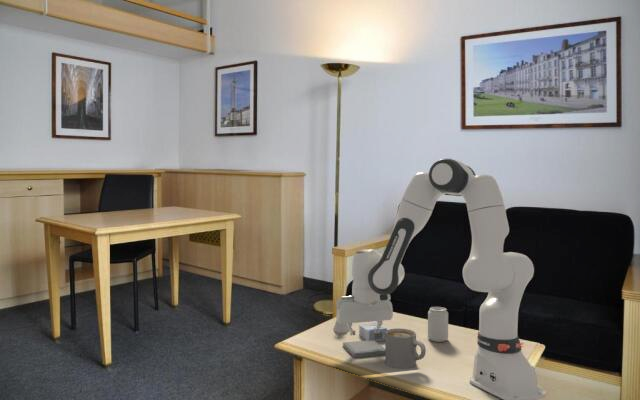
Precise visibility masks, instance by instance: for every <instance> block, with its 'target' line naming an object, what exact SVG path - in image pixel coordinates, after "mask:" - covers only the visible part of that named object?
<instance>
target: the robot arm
mask: <svg viewBox="0 0 640 400" xmlns="http://www.w3.org/2000/svg"><path fill="white" fill-rule="evenodd" d="M405 188H406V189H405V190H404V192H403V195H402V197H401V200H400V202H399V206H398V208H397V212H396V218H395V220H394V221H395V222H394V224H393V228H392V232H391V234H390V237H389V239H388V242H387V244H386V246H385V249H384V251H383V253H382V254H381V253H379V252H378V251H377V250H376V249H374V248H366V249H365V248H364V249H361V250H358V251H356V252H355V253H354V255H353V258H352V267H351V270H352V271H351V273H352V274H351V275H352V286H351V289H352V290H351V292H352V293H351V295H347V296H346V295H345V296H342V295H341V296H340V297H339V298H338V299H337V300H336V318H335V320H337V321H338V322H339V323H340V324H347V326H348V328H349V329H350V331H349V335H350V336H355V335H356V330H355V328H354V329H353V324H357V323H368V322H376V323H378V324H377V326H376V327H374V333H379V328H380V327H381V326H383V322H384V321H391V320H392V319H393V317H394V310H393V309H394V308H393V303H392V302H391V294H392V293H394V292H395V290H396V289H397V287H398V286H399V285H400V284H401V283H402V281H403V280H404V278H405V274H406V272H405V268H404V265H403V264H402V260H403V258H404V256H405V253H406V250H407V249H408V247H409V244H410V243H411V241H412V240H413V239H414V237H415V236H416V235H417V234H419V233H420V232H421V231H422V230H423V229H424V227H425V226H426V224H427V223H428V221H429V219H430V217H431V216H432V214H433V210H434V208H435V205H436V203H437V201H438V200H439V198H440V197H441V196H443V195H445V196H453V197H463V199H464V201H465V205H466V209H467V214H468V220H469V226H470V233H471V247H470V253H469V257H468V259H467V260H466V261H465V263H464V265H463V267H462V278H463V282H464V284H465V285H466V286H467V287H468V288H469V289H470V290H472V291H475V292H479V293H488V294H487V297H486V298H485V300H484V301H483V303H482V304H480V307H479V316H478V318H479V320H478V321H479V322H478V323H479V324H478V332H477V335H476V336H477V338H476V340H477V341H476V342H477V345H478V347H477V351H475V354H474V360H473V370H472V376H471V377H470V378H469V384H472V385H473V386H475V387H478V388H479V389H482V390H483V391H485V392H488V393H489V394H491V395H494V396H496V397H498V398H500V399H501V400H541V399H543V398H546V397H547V396H548V394H547V391H546V390H545V389H544V388H543V387H541V386H540V385H539V384H538V376H537V371H536V368H535V366H534V365H532V364H531V363H530V362H529V361H528V358H527V357H526V356H525V355H524V353H523V351H522V348H524V346H523V345H524V342H522V343H521V339H520V337H519V335H518V324H519V323H518V321H519V309H520V306H521V301H522V298H523V295H524V292H525V290H526V287H527V286H528V285H529V282H530V281H531V280H532V279H533V277H534V274H535V267H534V264H533V261H532V260H531V259H530V258H529V257H528V256H527V255H525V254H524V253H520V252H513V251H508V252H504V244H505V239H506V238H507V236H508V235H509V233H510V226H509V221H508V217H507V211H506V206H505V203H504V202H505V201H504V198H503V195H502V193H501V192H502V191H501V189H500V187H499V185H498V183H497V179H496V178H494V177H493V176H491V175H488V174H486V173H485V174H484V173H483V174H476V172H475V171H474V170H473V169H472V168H471V167H470V166H469V165H466V164H465V163H463V162H462V161H459V160H456V159H452V158H442V159H441V158H440V159H438V160H436V161H435V162H433V164H432V165H431V167H430V168H429V172H426V171H421V172H417V173H416V174H414V175H413V176H412V178H411V180H410V181H409V183H408V185H407V186H406V187H405Z"/></svg>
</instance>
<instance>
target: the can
mask: <svg viewBox="0 0 640 400" xmlns="http://www.w3.org/2000/svg"><path fill="white" fill-rule="evenodd" d="M447 310H448V309H447V308H445V307H441V306H431V307H430V308H429V310H428V312H427V338H428V339H429V340H430V341H431V342H434V343H444V342H446V341H447V340H449V312H448V311H447Z"/></svg>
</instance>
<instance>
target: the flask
mask: <svg viewBox="0 0 640 400" xmlns="http://www.w3.org/2000/svg"><path fill="white" fill-rule="evenodd" d="M332 330H333V332H334V333H338V334H348V333H350V329H349V328H348V326H347V324H340V323H339V322H338V321H337V319H335V323H334V327H333V328H332Z"/></svg>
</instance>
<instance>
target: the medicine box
mask: <svg viewBox="0 0 640 400" xmlns="http://www.w3.org/2000/svg"><path fill="white" fill-rule="evenodd" d="M377 324H378V323H377V322H375V323H368V324H360V325H359V329H358V336H360V337H361V338H362V339H364V341H366V340H375V341H376V342H380V341H381V342H382V341H385V333H386V331H387V330H388V328H387V327H385V326H383V325H381V327H380V328H379V333H374V327H376V326H377Z"/></svg>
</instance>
